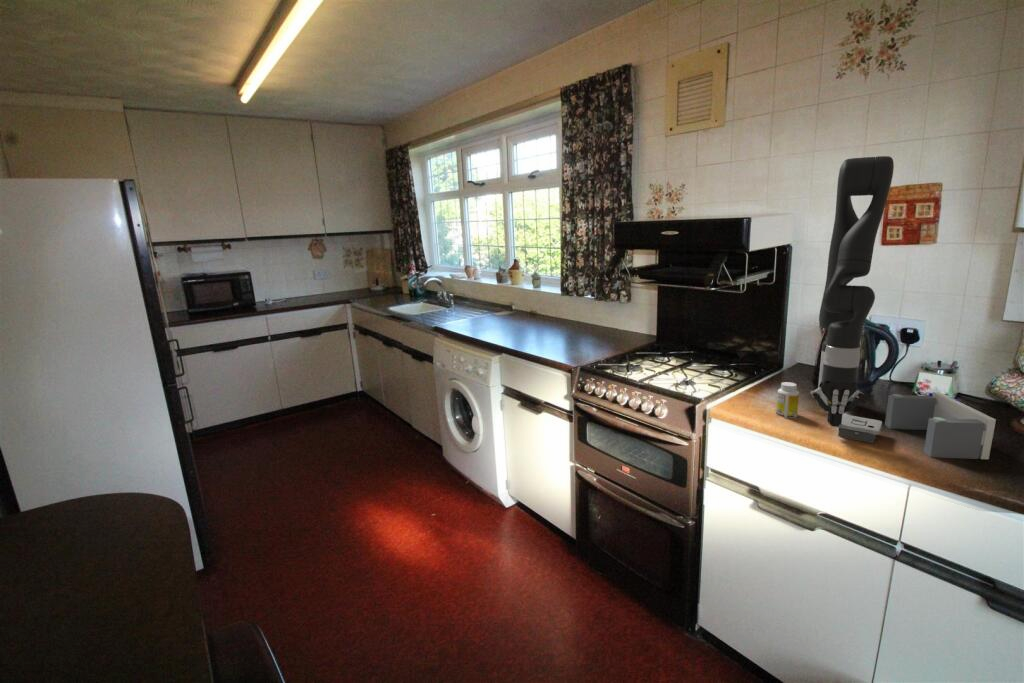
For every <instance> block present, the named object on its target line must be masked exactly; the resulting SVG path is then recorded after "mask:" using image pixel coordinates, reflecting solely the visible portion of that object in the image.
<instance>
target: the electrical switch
mask: <svg viewBox="0 0 1024 683" xmlns="http://www.w3.org/2000/svg"><path fill="white" fill-rule="evenodd" d="M882 427H883V421H882V420H878V419H874V418H873V419H872V418H868V417H861V416H855V415H850V414H844V413H843V414H842V423H841V425H839V427H837V428H838V434H837V437H838V436H840V438H843V437H845V438H844V439H848V438H849V439H848V440H852V441H858V442H863V443H868V444H874V443H875V442H876V438H877V435H880V432H881V430H882Z"/></svg>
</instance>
